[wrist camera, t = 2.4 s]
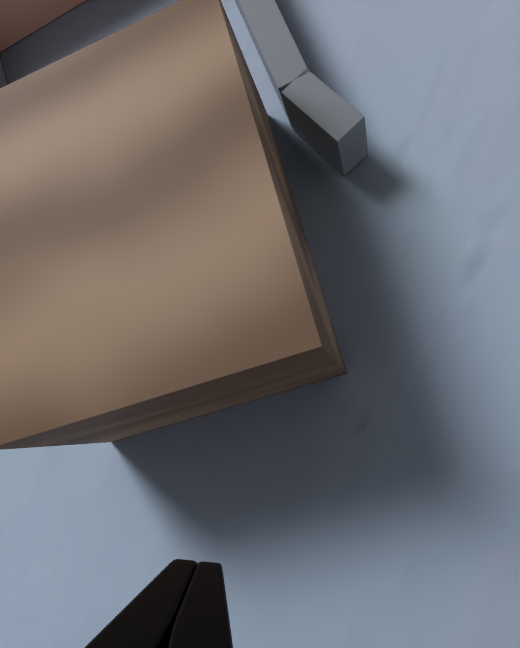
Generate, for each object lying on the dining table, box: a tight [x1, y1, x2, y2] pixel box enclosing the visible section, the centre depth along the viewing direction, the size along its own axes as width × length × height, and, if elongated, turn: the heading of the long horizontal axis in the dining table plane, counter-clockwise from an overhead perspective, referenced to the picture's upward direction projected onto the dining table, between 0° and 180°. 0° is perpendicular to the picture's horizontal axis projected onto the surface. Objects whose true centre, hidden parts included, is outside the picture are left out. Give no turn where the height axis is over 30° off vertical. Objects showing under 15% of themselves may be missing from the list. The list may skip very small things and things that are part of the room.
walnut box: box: [0, 0, 347, 449], centre depth 21 cm, size 14×12×8 cm
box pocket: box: [0, 0, 368, 176], centre depth 25 cm, size 20×20×5 cm
